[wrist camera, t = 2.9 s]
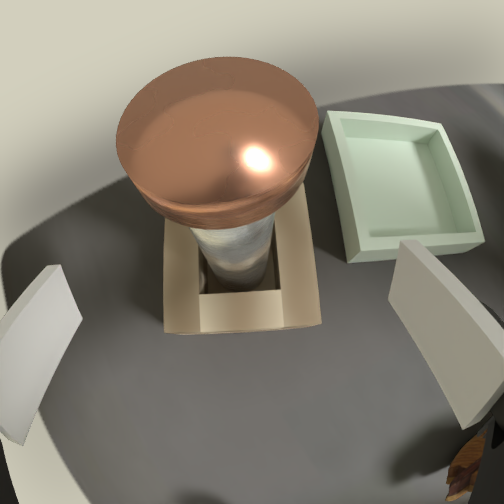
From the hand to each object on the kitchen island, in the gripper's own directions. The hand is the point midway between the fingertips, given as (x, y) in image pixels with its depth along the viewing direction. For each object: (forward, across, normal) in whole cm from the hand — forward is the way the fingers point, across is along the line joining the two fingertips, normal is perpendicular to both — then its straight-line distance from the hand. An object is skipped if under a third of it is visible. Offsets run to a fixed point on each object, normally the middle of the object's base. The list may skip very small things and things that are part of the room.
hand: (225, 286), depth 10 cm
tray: (+17, -16, +2) cm, 23 cm away
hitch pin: (+11, 0, +6) cm, 13 cm away
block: (+12, 0, +7) cm, 14 cm away
